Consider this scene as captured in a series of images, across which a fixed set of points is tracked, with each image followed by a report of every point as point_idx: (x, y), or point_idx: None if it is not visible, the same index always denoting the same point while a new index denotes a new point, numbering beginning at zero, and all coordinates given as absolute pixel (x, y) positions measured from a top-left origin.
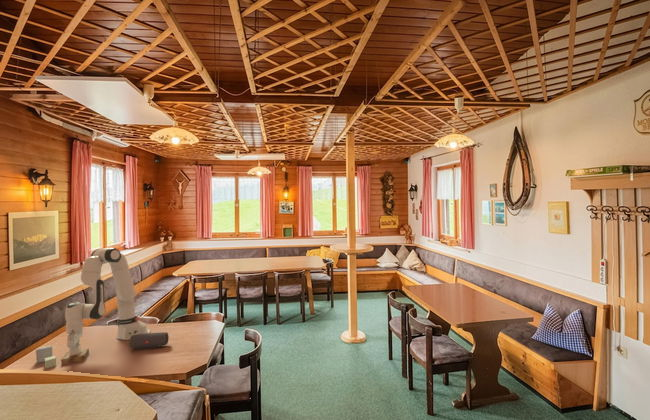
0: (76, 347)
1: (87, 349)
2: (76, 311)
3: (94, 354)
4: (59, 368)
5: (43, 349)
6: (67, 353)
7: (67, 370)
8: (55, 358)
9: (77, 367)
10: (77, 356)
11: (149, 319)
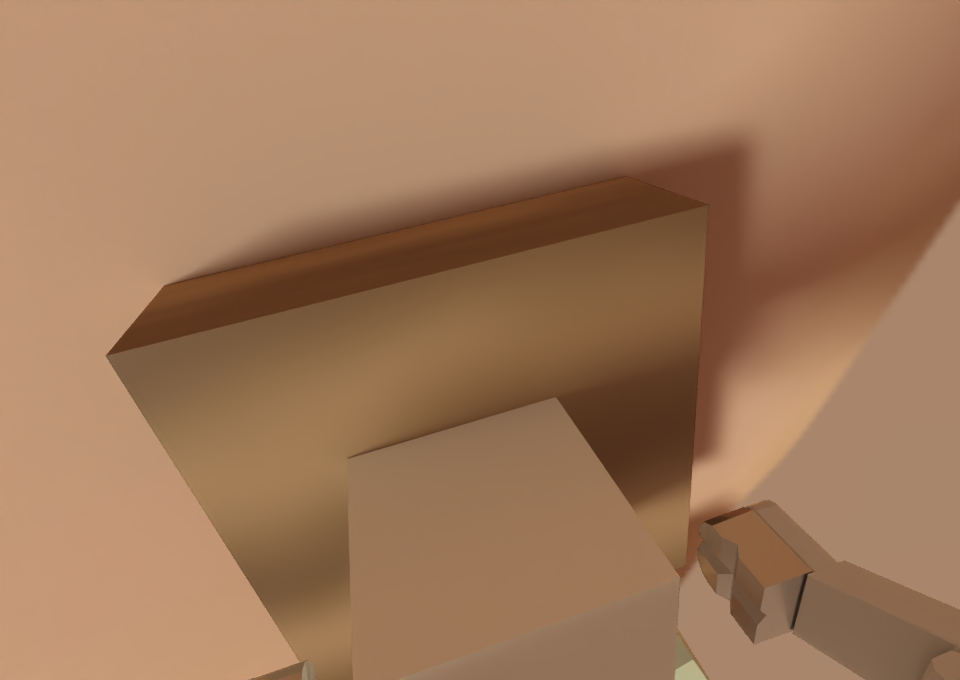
0: (666, 604)
1: (222, 345)
2: None
3: (266, 77)
4: (743, 448)
5: None
6: None
7: (894, 294)
8: (689, 655)
9: (884, 175)
10: (686, 357)
11: None
